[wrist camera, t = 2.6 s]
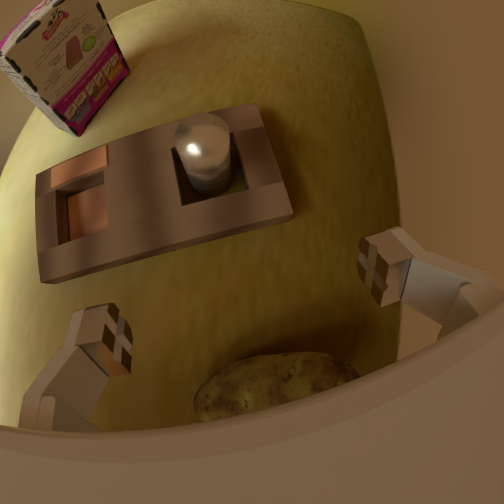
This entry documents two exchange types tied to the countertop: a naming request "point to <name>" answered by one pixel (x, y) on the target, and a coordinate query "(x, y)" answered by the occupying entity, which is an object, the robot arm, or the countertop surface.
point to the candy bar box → (64, 61)
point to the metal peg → (205, 153)
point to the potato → (269, 382)
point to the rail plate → (149, 200)
